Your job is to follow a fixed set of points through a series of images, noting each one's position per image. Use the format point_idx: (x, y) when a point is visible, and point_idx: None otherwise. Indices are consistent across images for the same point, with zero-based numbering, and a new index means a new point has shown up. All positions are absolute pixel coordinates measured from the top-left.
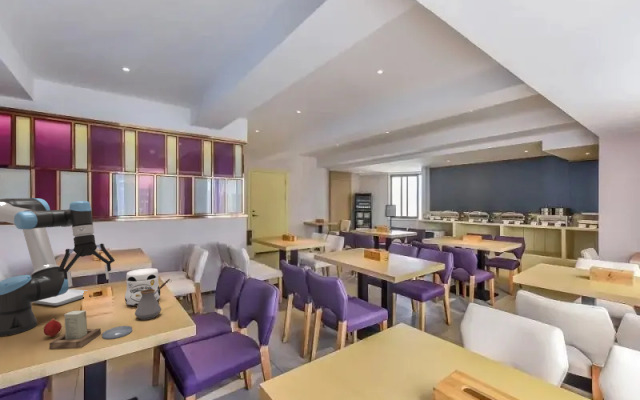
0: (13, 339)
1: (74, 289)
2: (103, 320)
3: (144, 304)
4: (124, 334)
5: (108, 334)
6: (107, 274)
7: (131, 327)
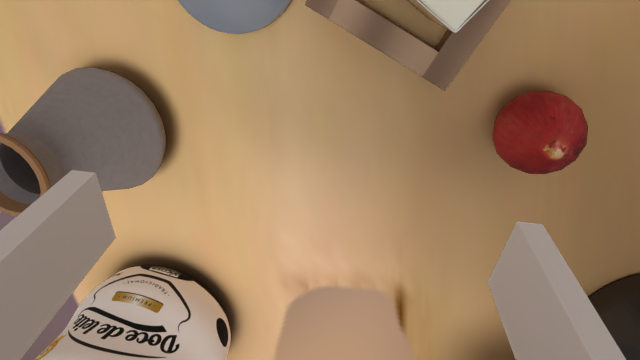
0: None
1: None
2: (311, 202)
3: (72, 109)
4: None
5: None
6: (27, 214)
7: None
